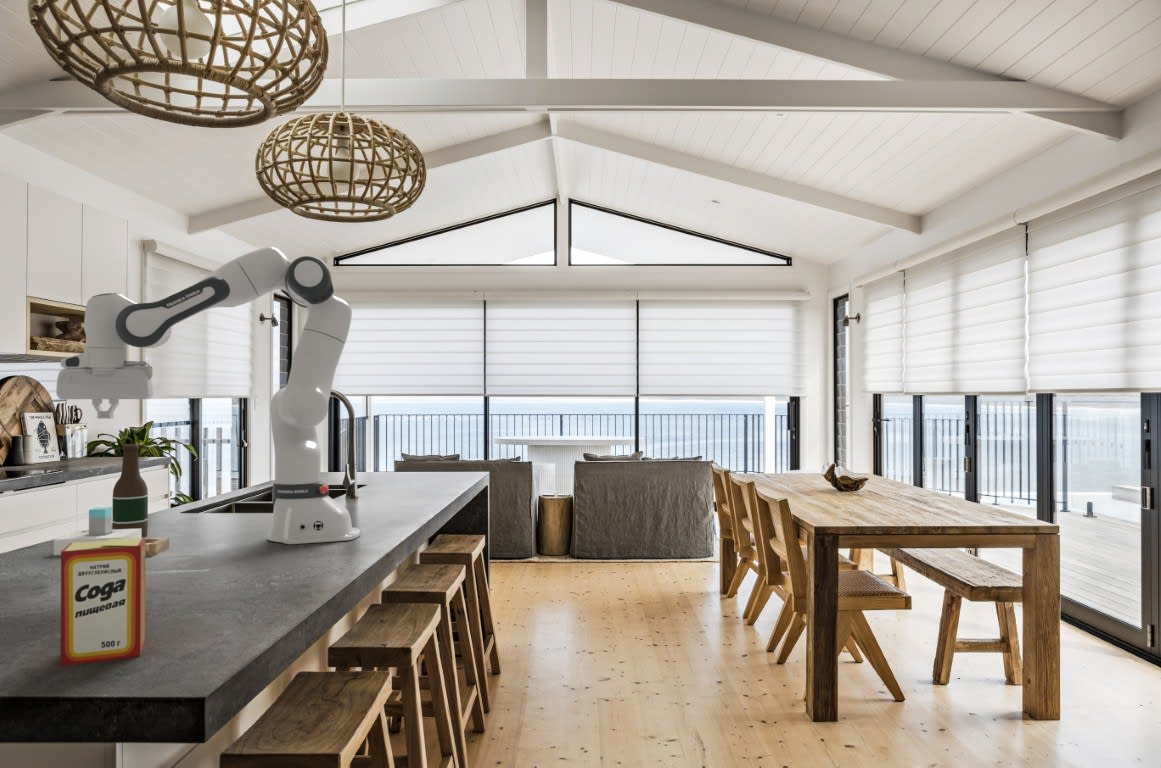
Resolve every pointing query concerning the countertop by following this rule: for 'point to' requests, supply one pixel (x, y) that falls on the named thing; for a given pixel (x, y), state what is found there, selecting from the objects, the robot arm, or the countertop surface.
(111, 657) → the baking soda box
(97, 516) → the plug
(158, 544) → the square wooden tray
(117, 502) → the beer bottle
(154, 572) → the countertop surface
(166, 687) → the countertop surface
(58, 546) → the port
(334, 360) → the robot arm
